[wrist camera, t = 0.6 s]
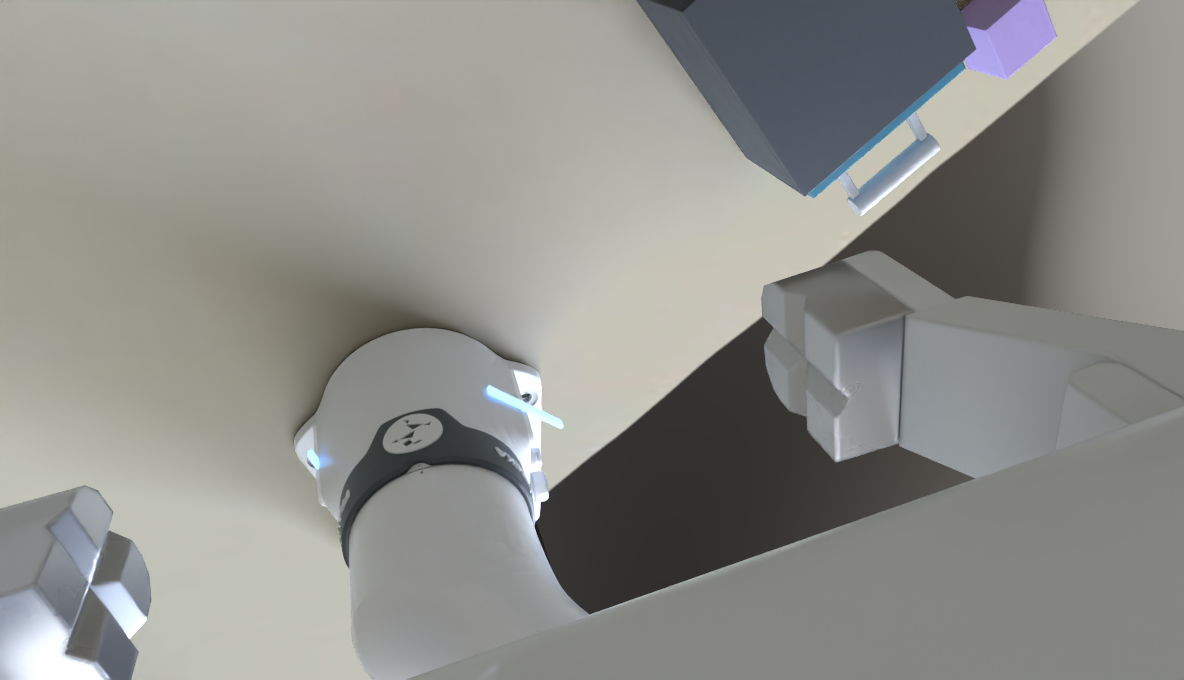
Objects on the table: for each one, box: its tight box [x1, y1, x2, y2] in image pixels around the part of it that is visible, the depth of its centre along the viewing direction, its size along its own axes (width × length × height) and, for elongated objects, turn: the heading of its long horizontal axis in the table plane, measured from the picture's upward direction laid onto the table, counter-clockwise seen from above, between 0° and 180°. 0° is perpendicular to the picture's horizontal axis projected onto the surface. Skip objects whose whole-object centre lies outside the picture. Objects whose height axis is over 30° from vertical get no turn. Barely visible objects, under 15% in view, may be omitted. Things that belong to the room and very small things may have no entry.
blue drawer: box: [808, 61, 966, 215], centre depth 52 cm, size 19×12×7 cm, turn 39°
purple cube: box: [960, 0, 1057, 79], centre depth 57 cm, size 4×4×4 cm
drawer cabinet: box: [637, 0, 976, 196], centre depth 50 cm, size 15×14×9 cm
